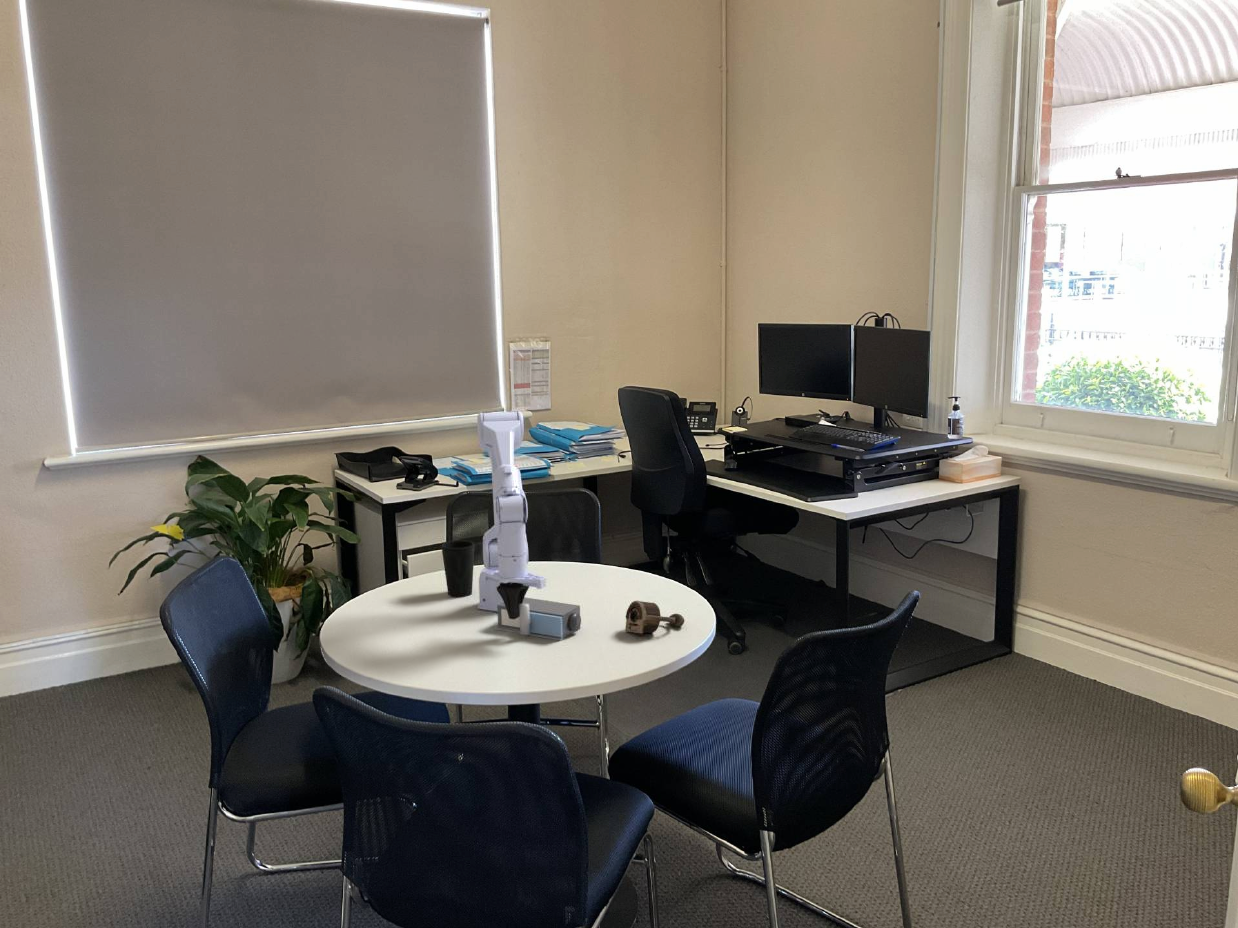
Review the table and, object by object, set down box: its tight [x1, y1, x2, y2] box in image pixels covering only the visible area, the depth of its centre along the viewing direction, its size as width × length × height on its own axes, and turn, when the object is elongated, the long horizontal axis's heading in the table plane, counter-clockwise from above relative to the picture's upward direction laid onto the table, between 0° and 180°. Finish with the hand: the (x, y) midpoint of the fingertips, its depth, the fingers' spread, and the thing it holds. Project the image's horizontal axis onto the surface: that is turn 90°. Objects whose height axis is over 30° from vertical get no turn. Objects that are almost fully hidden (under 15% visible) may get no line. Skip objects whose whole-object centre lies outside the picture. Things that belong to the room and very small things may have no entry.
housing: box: [494, 596, 582, 641], centre depth 207 cm, size 17×8×5 cm, turn 63°
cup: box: [440, 539, 476, 598], centre depth 232 cm, size 8×8×12 cm
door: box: [519, 603, 563, 637], centre depth 201 cm, size 9×3×6 cm, turn 63°
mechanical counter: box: [624, 600, 685, 634], centre depth 205 cm, size 7×13×10 cm
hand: (514, 617), depth 203 cm, fingers closed
